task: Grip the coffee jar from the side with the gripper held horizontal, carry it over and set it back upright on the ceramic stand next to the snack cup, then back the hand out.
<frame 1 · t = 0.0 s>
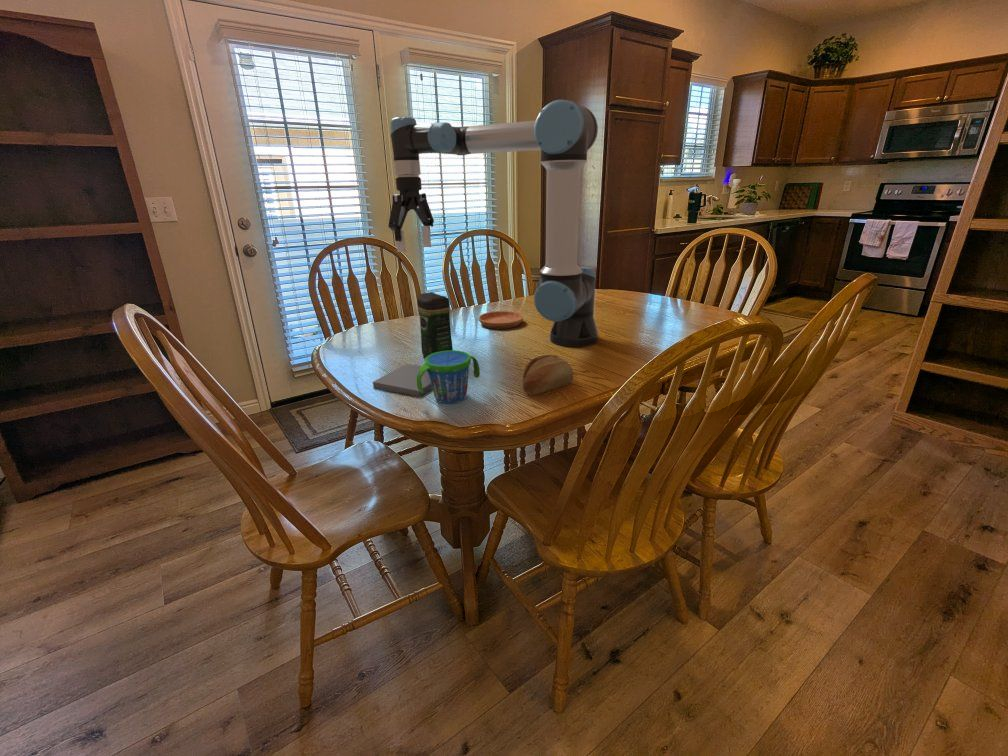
hand: (414, 249, 149), 28 cm above the table, tool pointing down, fingers open, 13 cm apart
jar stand: (413, 381, 121), on the table
bread roll: (546, 388, 115), on the table
snack cup: (450, 398, 111), on the table
coffee jar: (437, 356, 139), on the table
saucer: (501, 325, 169), on the table
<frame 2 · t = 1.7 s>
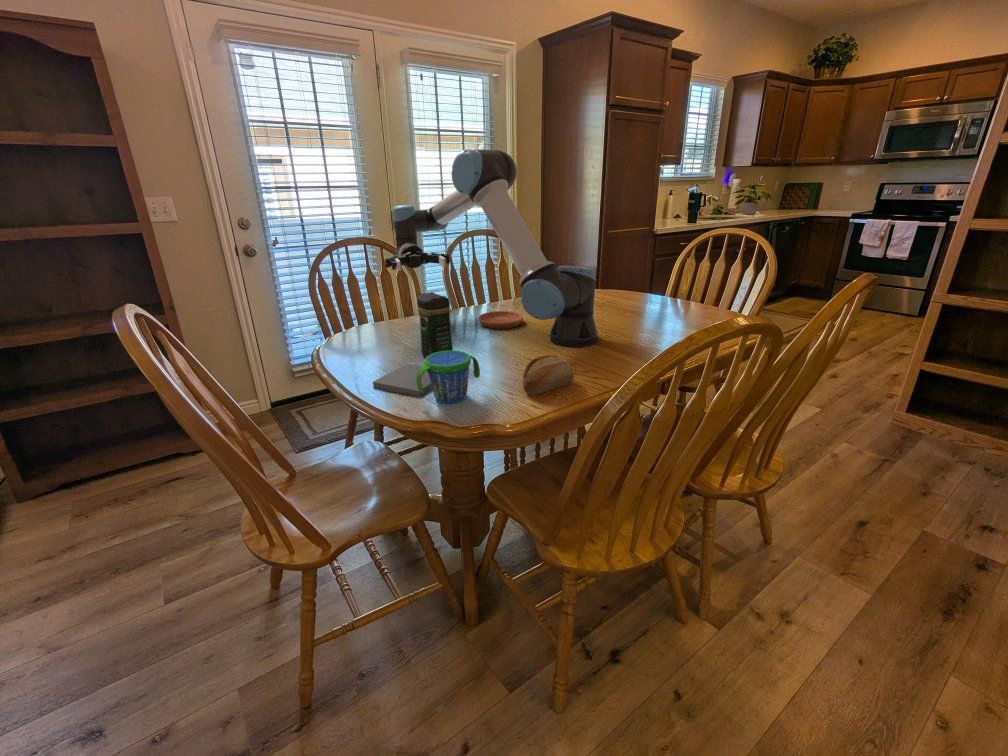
hand: (422, 264, 141), 25 cm above the table, tool horizontal, fingers open, 13 cm apart
nothing on the table moved.
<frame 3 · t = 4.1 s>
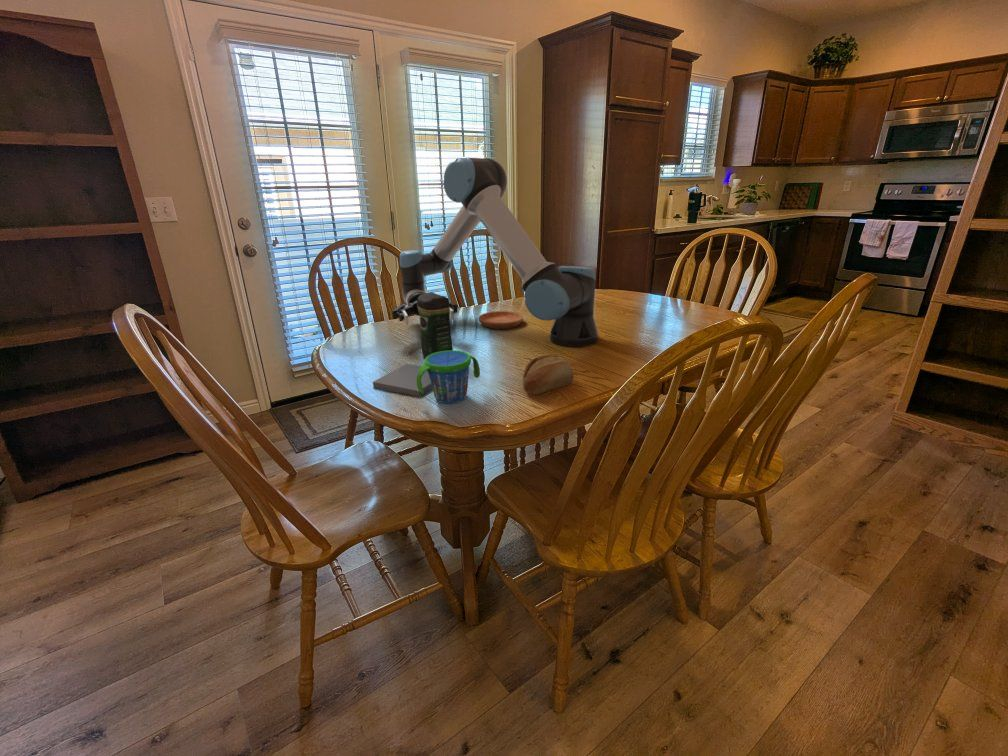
hand: (430, 317, 139), 10 cm above the table, tool horizontal, fingers open, 13 cm apart
nothing on the table moved.
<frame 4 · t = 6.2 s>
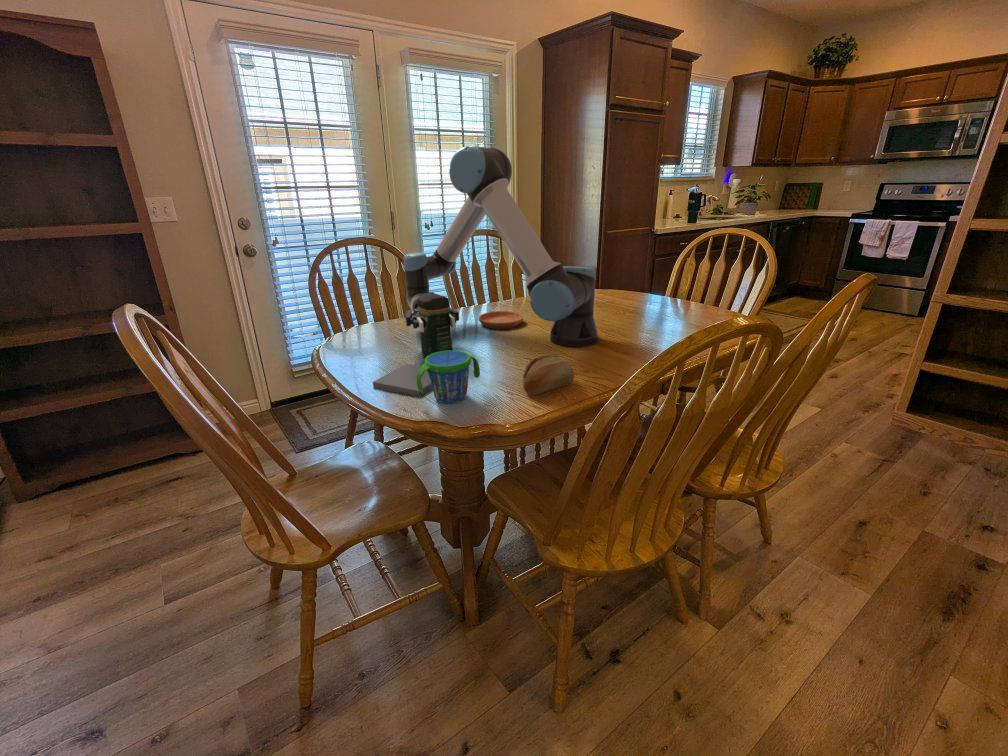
hand: (438, 325, 130), 11 cm above the table, tool horizontal, fingers closed on coffee jar, 8 cm apart
coffee jar: (437, 356, 139), on the table, touching gripper
everything else where it was.
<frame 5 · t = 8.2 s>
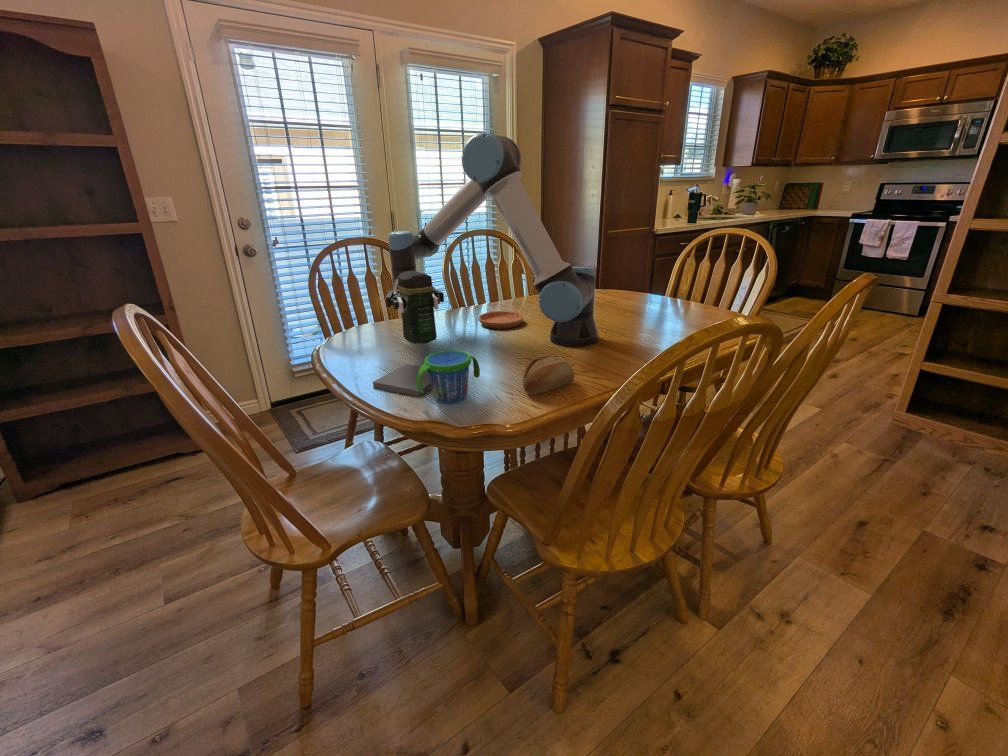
hand: (419, 305, 121), 18 cm above the table, tool horizontal, fingers closed on coffee jar, 8 cm apart
coffee jar: (420, 340, 129), point 7 cm above the table, touching gripper
everything else where it was.
when the fingers open (13 cm above the table, at t = 10.3 s): coffee jar drops 1 cm, resting on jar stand.
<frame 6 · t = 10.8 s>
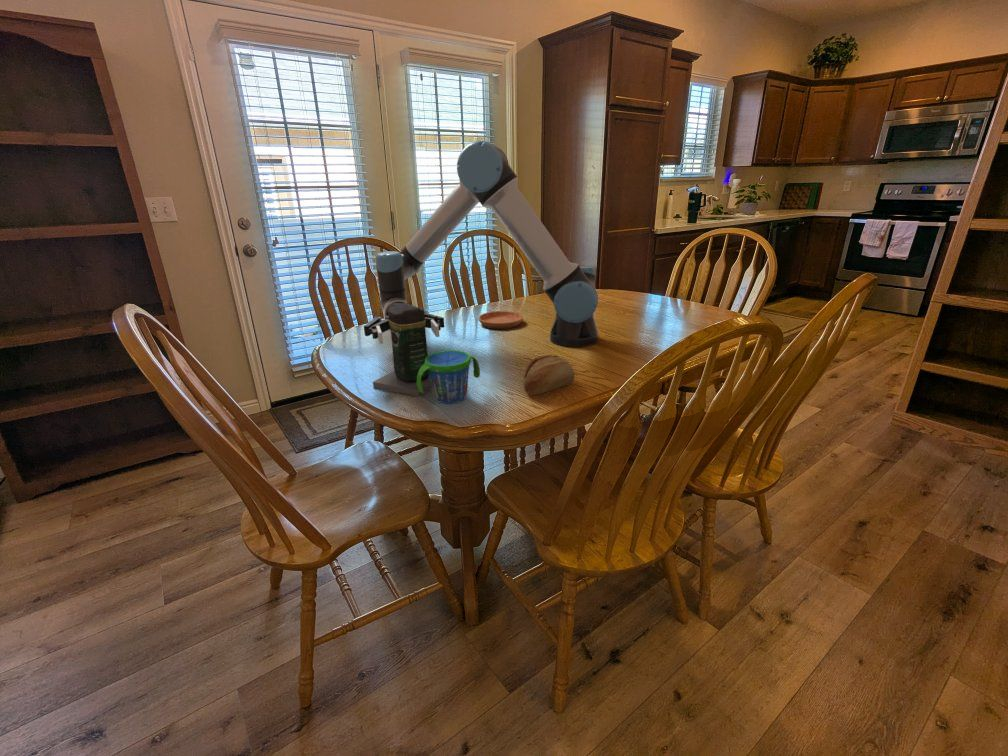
hand: (409, 335, 113), 13 cm above the table, tool horizontal, fingers open, 13 cm apart
coffee jar: (412, 376, 120), point 1 cm above the table, touching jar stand
everything else where it was.
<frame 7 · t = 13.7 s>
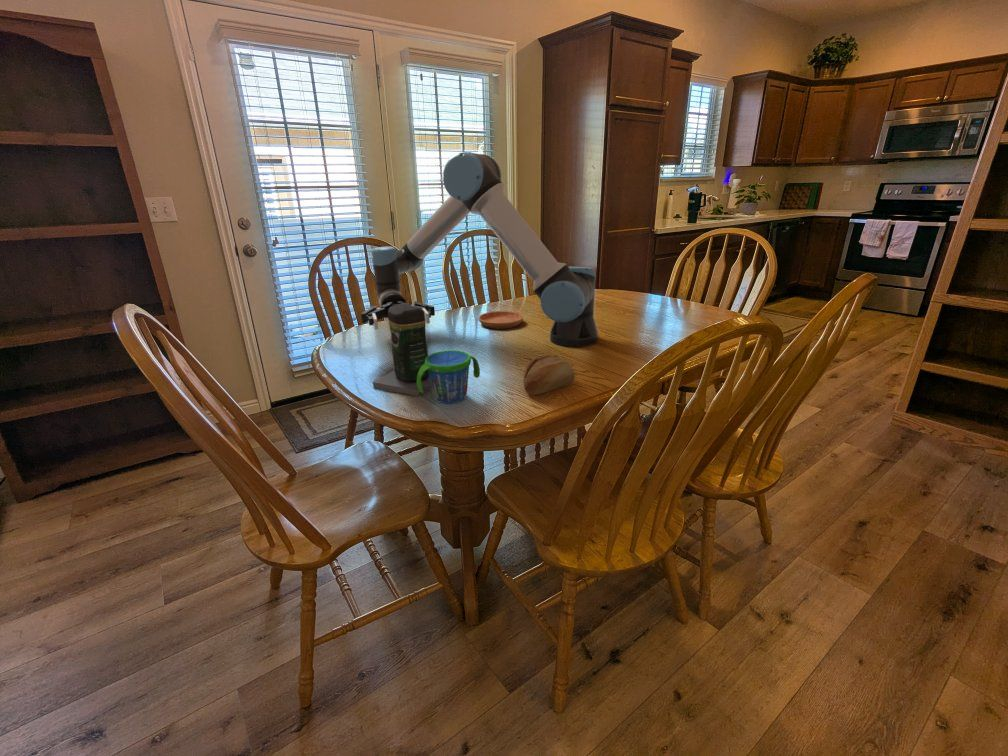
hand: (402, 321, 124), 14 cm above the table, tool horizontal, fingers open, 13 cm apart
nothing on the table moved.
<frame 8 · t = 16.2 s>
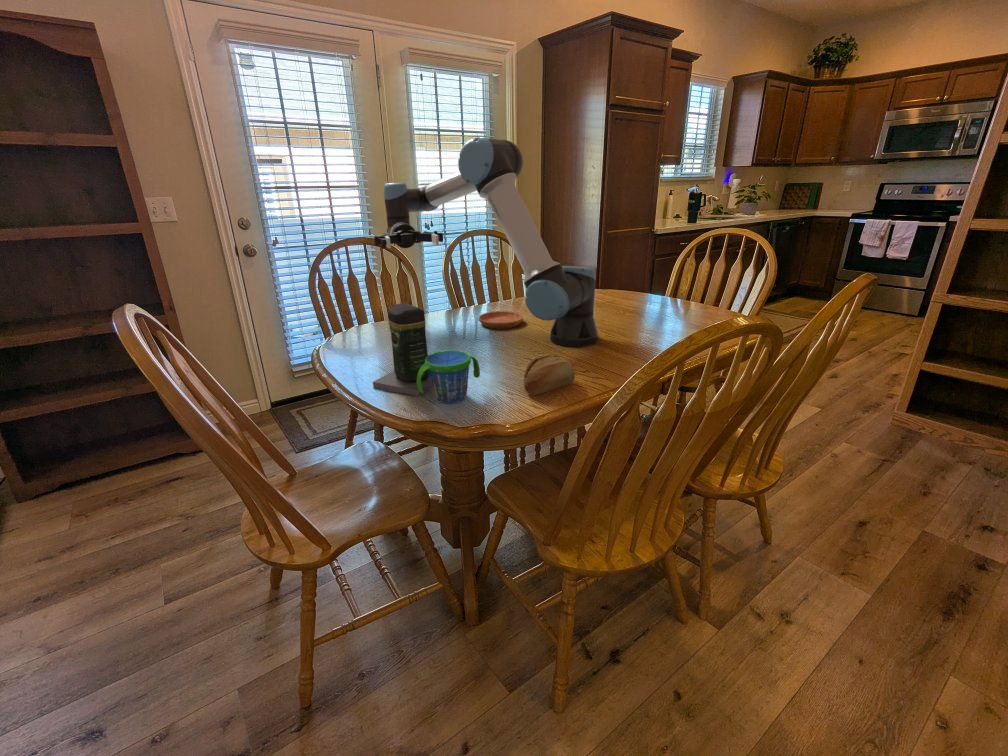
hand: (413, 241, 132), 32 cm above the table, tool horizontal, fingers open, 13 cm apart
nothing on the table moved.
at the end: coffee jar inside the target area on the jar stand (0.1 cm from its centre), point 1.3 cm above the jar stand's base; coffee jar tilted 0°; the gripper is holding nothing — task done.
